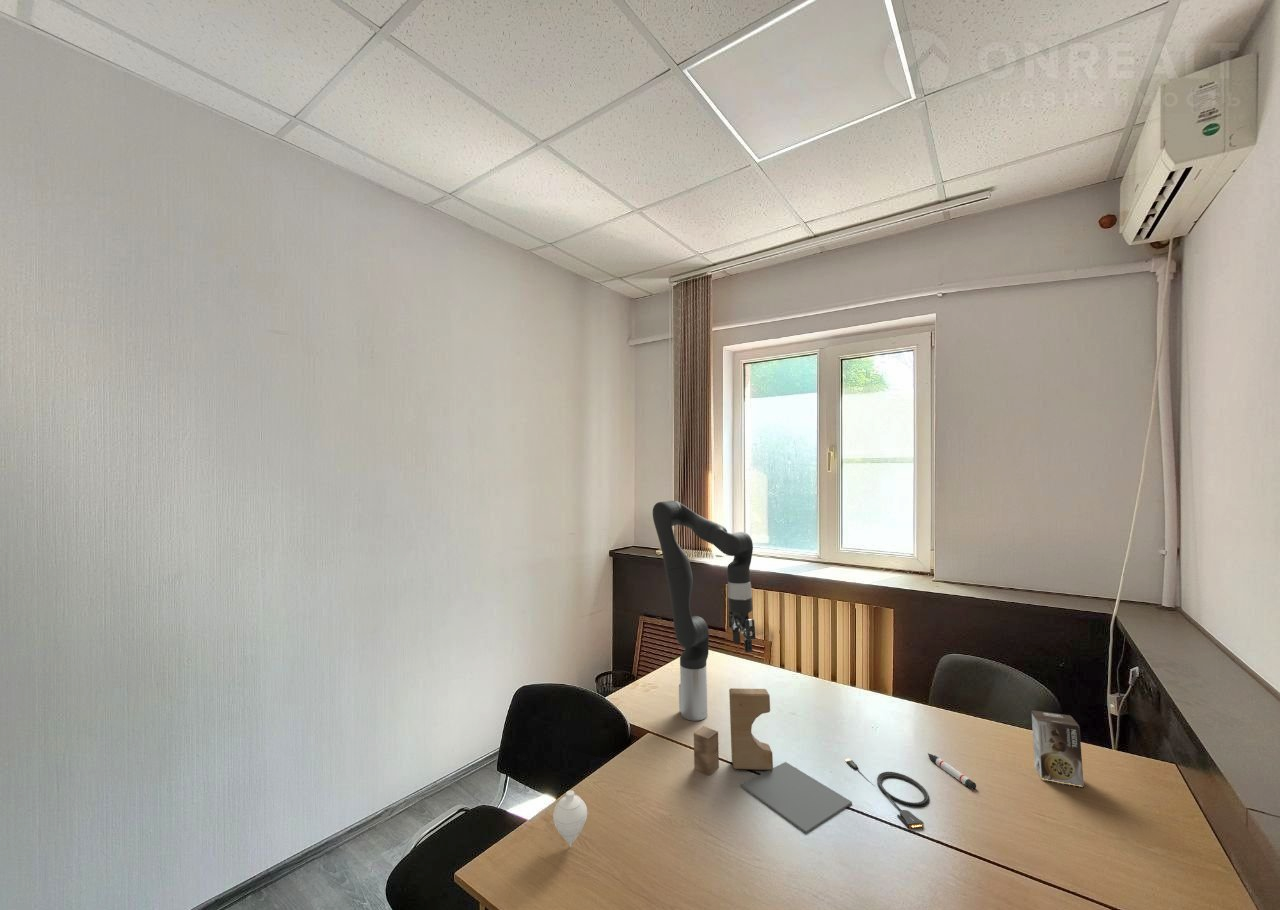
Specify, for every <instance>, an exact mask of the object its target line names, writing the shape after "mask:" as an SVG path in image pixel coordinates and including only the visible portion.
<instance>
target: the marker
mask: <svg viewBox="0 0 1280 910" xmlns="http://www.w3.org/2000/svg"><path fill="white" fill-rule="evenodd" d="M927 755H928V758H929V759H930V760H931V762H933V763H934V764H935V765H937V766H938V767H939V768H940V769H942V770H944V771H945V772H946V773H947V774H949V776H952V777H953V778H954V777H955V779H956V780H957V779H958V780H957V781H959V782H960V783H961V782H962V784H963V785H964V784H965V785H964V786H965V787H967V786H968V788H969V789H970V790H973V789H972V788H976V789H977V784H976V783H975V781H973V780H971V779H970V778H969V777H968V776H966V775H965V774H964V773H962V772H960V771H958V770H957V769H955V767H952V765H950V764H949V763H947V762H946V761H944V760H943V759H941V758H940V757H938V756H937V755H933V754H932V753H929V752H927Z"/></svg>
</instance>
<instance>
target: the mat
mask: <svg viewBox="0 0 1280 910" xmlns="http://www.w3.org/2000/svg"><path fill="white" fill-rule="evenodd" d="M740 787H741V788H742V789H744V790H745V791H747V792H748V793H749V794H751V795H752V796H753V797H755V798H757V800H759V801H760V802H762V803H763V804H765V805H766V806H767V807H768V808H770V809H771V810H772V811H774V812H776V813H777V814H778V815H780V816H781V817H782V818H784V820H787V821H788V822H790V823H791V824H792V825H794V827H796V828H798V829H799V830H800V831H802V832H803V833H804V834H808V833H809V832H811V831H812V830H814V829H815V828H817V827H819V826H820V825H822V824H823V823H824V822H826V821H827V820H829V819H831V818H833V816H835V815H838V814H839V813H840V812H841V811H843V810H844V809H847V808H848V807H849V806H851V805H853V802H852V801H851V800H850V799H848V798H846V797H844V796H843V795H842V794H839V793H838V792H836V791H835V790H833V789H832V788H830V787H828V786H826V785H825V784H823V783H821V782H820V781H818V780H817V779H815V778H813V777H811V776H810V775H808V774H807V773H805V772H803V771H801V770H800V769H798V768H797V767H795V766H793V765H792V764H790V763H789V762H787V761H784V762H782V763H780V764H779V765H777V766H775V767H774V766H773V769H772V770H765V771H764V772H762V773H761V774H759V775H756V776H755V777H754V776H753V777H752V778H751V779H749V780H747V781H745V782H742V783H741V784H740Z"/></svg>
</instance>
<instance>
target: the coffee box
mask: <svg viewBox="0 0 1280 910" xmlns="http://www.w3.org/2000/svg"><path fill="white" fill-rule="evenodd" d="M1030 712H1031V725H1032V728H1031V729H1032V743H1033V745H1032V746H1033V758H1034V759H1033V760H1034V761H1033V762H1034V763H1033V764H1034V768H1035V767H1036V769H1037V771H1038V773H1039V774H1040V776H1041V778H1044V779H1048V780H1054V781H1059V782H1064V783H1071V784H1075V785H1081V786H1084V785H1085V784H1084V782H1085V781H1084V771H1083V757H1082V756H1083V755H1082V745H1081V744H1082V742H1081V741H1082V740H1081V729H1080V728H1081V727H1080V725H1079V724H1078V722H1077V721H1076V720H1075V719H1074V718H1073V716H1071V715H1070V714H1062V713H1053V712H1047V711H1039V710H1034V709H1033V710H1031V711H1030ZM1036 769H1035V770H1036ZM1037 771H1036V772H1037ZM1038 773H1037V774H1038ZM1041 778H1040V779H1041ZM1084 787H1085V786H1084Z"/></svg>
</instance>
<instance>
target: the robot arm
mask: <svg viewBox="0 0 1280 910" xmlns="http://www.w3.org/2000/svg"><path fill="white" fill-rule="evenodd" d="M652 519H653V522H654V523H653V524H654V528H655V531H656V534H657V537H658V542H659V545H660V550H661V554H662V559H663V564H664V571H665V576H666V580H667V585H668V591H669V596H670V601H671V608H672V609H671V610H672V617H673V620H672V621H673V627H674V628H673V629H674V635H675V638H676V641H677V643H678V644H679V645H680V646H681V647H682V648H684V650H683V652H682V653H681V655H680V657H679V675H680V676H679V677H680V680H679V681H680V683H679V685H678V704H679V709H678V710H679V711H678V712H679V713H680V715H681V717H682V718H683V719H685V720H688V721H693V722H695V721H702V720H704V719H706V718H707V717H708V685H707V684H708V683H707V681H708V680H707V678H708V677H707V660H708V658H709V657H708V656H709V652H710V651H709V650H710V649H709V647H710V646H709V645H710V640H709V638H710V633H709V626H708V624H707V622H706V621H705V620H704V618H702V617H700V616H699V615H693V616H692V612H691V604H690V603H691V596H692V590H693V582H694V579H693V577H694V576H693V571H692V567H691V562H690V559H689V557H688V556H687V554H686V553H685V551H684V550H683V549H682V547H681V546H680V545H679V543H678V541H677V540H676V537H675V534H674V530H673V526H674V527H675V526H677V525H678V526H683V527H686V528H689V529H690V530H692V532H693V534H694V535H695V536H697V537H698V538H699V539H701V540H702V541H704V542H706V543H709V544H711V545H713V546H714V547H715V548H717V549H718V550H719V551H720V552H721V553H722V554H724V555H727V556H730V557H733V559H732V561H731V562H729V564H727V572H726V573H727V601H728V602H727V603H728V626H729V628H730V630H731V632H732V641H733V644H740V643H741V634H742V636H743V639H744V640H743V641H744V642H743V643H744V651H745V653H752V652H753V641H752V640H755V639H756V629H755V628H756V627H755V619H754V618H750V616H749V614H750V613H751V612H752V611H753V594H752V593H753V592H752V591H753V590H752V584H751V571H750V569H751V562H752V557H753V550H754V544H753V539H752V538H751V536H750V534H748V533H747V532H745V531H739V532H738V531H737V532H732V533H730V532H728V530H727V528H726V527H725V526H724V525H721V524H719V523H718V522H715V521H712V520H710V519H707V518H705V517H704V516H701V515H699V514H698V513H696V512H695V511H693V510H692V509H690V508H689V507H687V506H686V505H684V504H683V503H681V502H679V501H677V500H666V501H658V502H657V503H655V504H654V505H653V507H652Z"/></svg>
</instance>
